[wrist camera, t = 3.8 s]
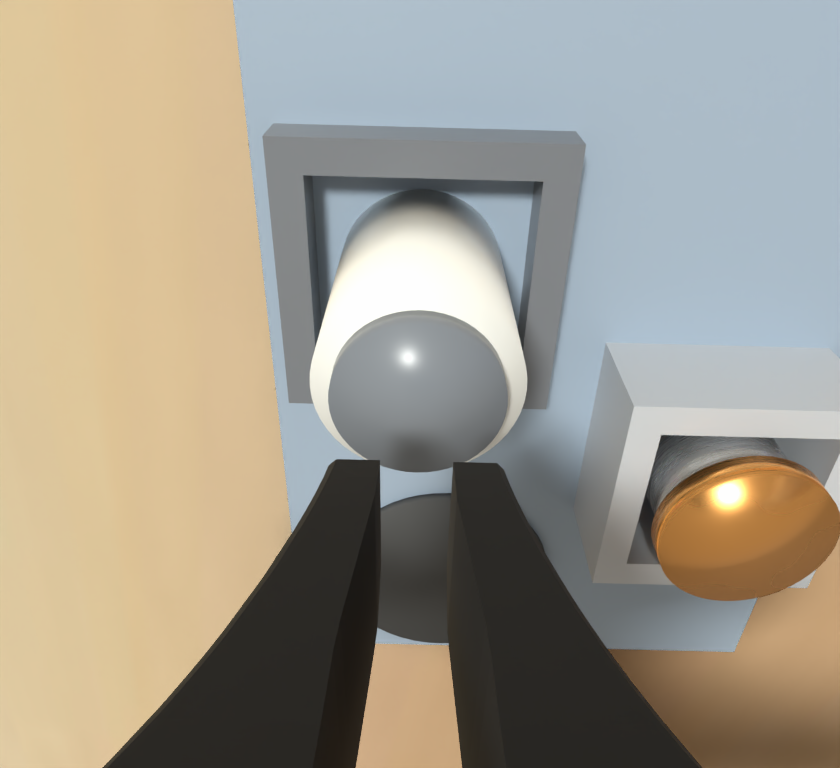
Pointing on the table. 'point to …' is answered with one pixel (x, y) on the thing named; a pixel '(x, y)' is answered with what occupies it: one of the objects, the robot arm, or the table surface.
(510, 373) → the cartridge
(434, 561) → the rubber pad
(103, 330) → the table surface
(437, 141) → the panel
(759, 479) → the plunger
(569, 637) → the robot arm
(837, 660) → the table surface
